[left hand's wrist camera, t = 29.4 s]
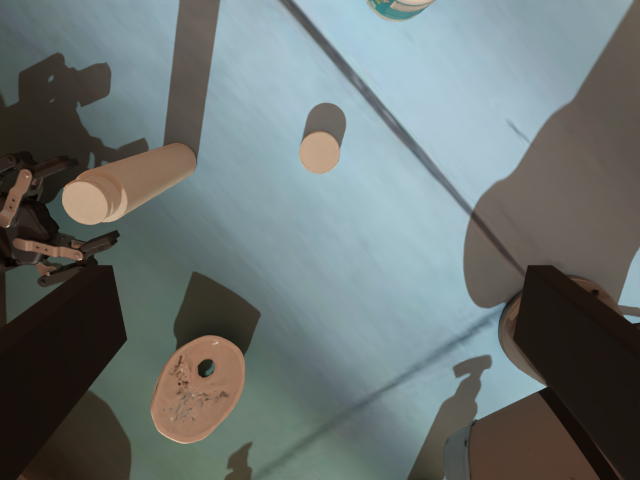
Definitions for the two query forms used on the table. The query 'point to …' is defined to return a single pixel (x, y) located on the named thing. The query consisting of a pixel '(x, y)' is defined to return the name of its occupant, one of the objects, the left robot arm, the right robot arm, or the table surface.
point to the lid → (319, 152)
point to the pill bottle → (398, 8)
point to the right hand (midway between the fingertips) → (94, 199)
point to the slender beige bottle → (126, 183)
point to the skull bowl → (197, 389)
